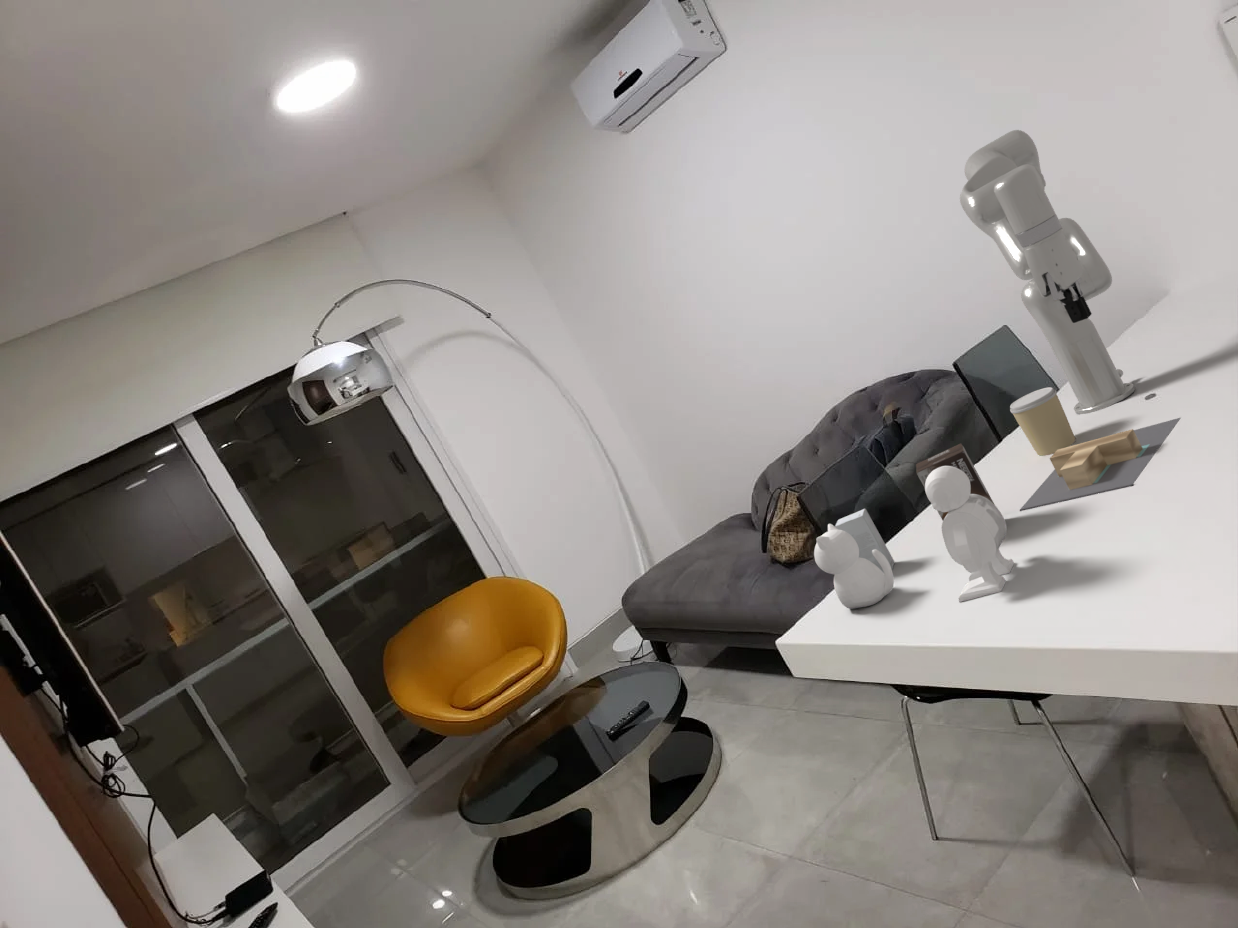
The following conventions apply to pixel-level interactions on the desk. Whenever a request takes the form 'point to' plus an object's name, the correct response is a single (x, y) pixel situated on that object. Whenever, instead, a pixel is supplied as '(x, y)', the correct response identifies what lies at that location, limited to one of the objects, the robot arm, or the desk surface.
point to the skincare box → (865, 536)
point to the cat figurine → (852, 569)
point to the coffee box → (956, 459)
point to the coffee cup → (1043, 421)
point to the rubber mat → (1112, 479)
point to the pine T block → (1094, 457)
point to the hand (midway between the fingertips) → (1082, 318)
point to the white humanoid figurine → (970, 531)
